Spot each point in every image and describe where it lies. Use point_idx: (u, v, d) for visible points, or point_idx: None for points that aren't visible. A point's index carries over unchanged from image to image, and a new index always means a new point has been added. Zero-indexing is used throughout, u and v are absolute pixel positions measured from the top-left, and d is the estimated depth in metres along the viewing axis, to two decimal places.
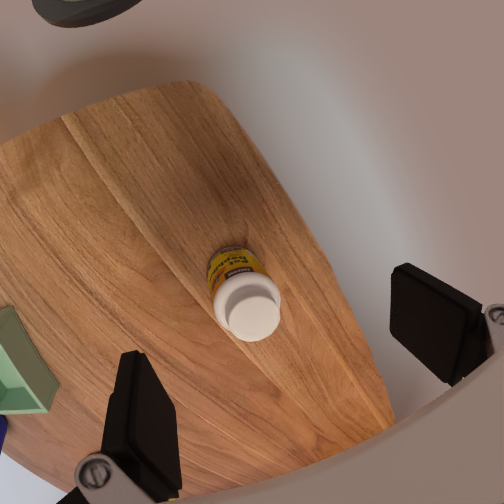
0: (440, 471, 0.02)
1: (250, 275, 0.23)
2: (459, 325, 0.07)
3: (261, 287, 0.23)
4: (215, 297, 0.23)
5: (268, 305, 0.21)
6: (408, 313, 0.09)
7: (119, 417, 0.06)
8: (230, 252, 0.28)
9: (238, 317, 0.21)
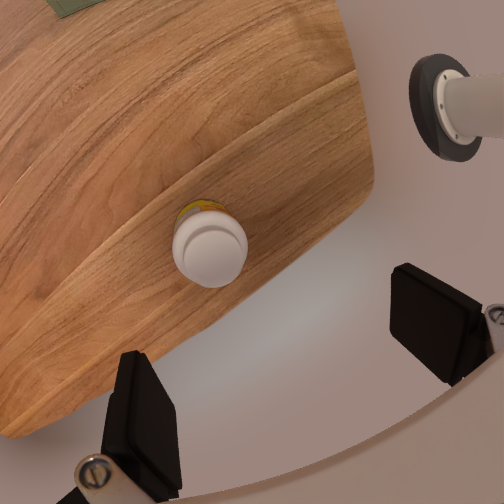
0: (440, 471, 0.02)
1: (247, 248, 0.22)
2: (459, 325, 0.07)
3: None
4: (221, 213, 0.21)
5: (232, 273, 0.19)
6: (408, 313, 0.09)
7: (119, 417, 0.06)
8: None
9: (219, 241, 0.19)
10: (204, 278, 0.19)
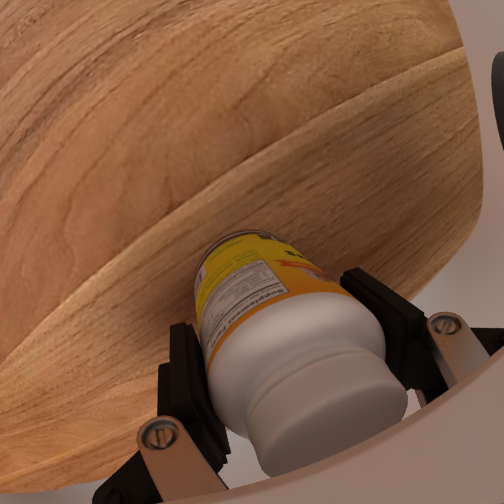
0: (440, 471, 0.02)
1: None
2: (399, 332, 0.07)
3: None
4: (345, 299, 0.07)
5: None
6: None
7: (180, 379, 0.07)
8: None
9: (369, 405, 0.05)
10: None
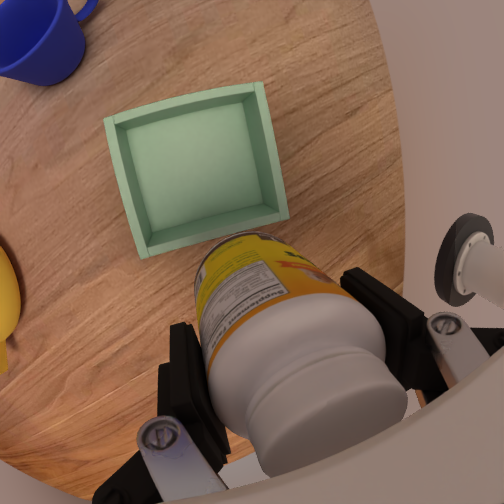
0: (440, 471, 0.02)
1: None
2: (399, 332, 0.07)
3: None
4: (345, 300, 0.07)
5: None
6: None
7: (180, 378, 0.07)
8: None
9: (369, 406, 0.05)
10: None
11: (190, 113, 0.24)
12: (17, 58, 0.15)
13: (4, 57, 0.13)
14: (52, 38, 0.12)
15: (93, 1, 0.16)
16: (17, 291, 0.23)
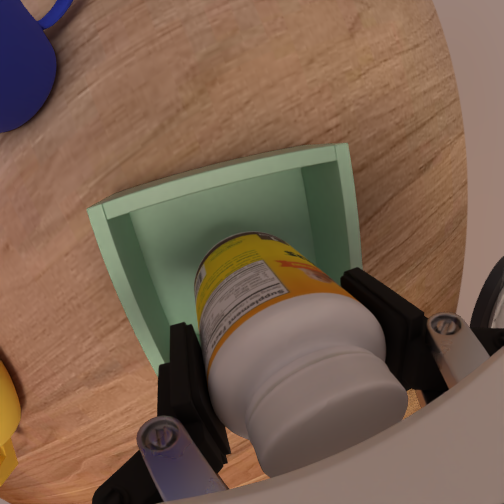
0: (440, 471, 0.02)
1: None
2: (399, 332, 0.07)
3: None
4: (345, 299, 0.07)
5: None
6: None
7: (180, 378, 0.07)
8: None
9: (369, 406, 0.05)
10: None
11: None
12: None
13: None
14: None
15: None
16: (13, 395, 0.16)
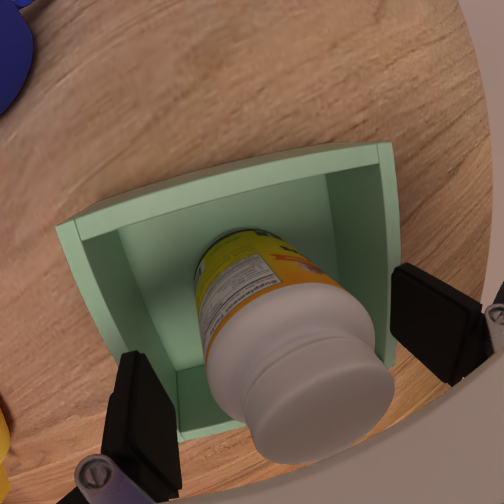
0: (440, 471, 0.02)
1: None
2: (459, 325, 0.07)
3: None
4: (335, 289, 0.08)
5: (360, 433, 0.07)
6: (408, 313, 0.09)
7: (119, 417, 0.06)
8: None
9: (356, 387, 0.06)
10: (299, 455, 0.06)
11: None
12: None
13: None
14: None
15: None
16: (0, 422, 0.13)
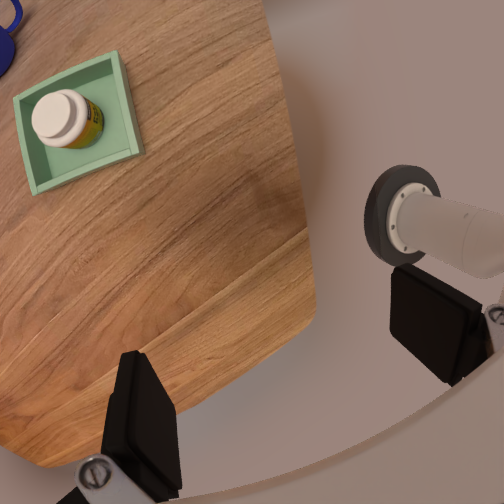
0: (440, 471, 0.02)
1: (85, 113, 0.20)
2: (459, 325, 0.07)
3: (74, 123, 0.20)
4: None
5: (61, 122, 0.18)
6: (408, 313, 0.09)
7: (119, 417, 0.06)
8: (100, 115, 0.25)
9: (54, 99, 0.17)
10: (42, 129, 0.18)
11: (80, 86, 0.25)
12: None
13: None
14: None
15: (18, 16, 0.17)
16: None
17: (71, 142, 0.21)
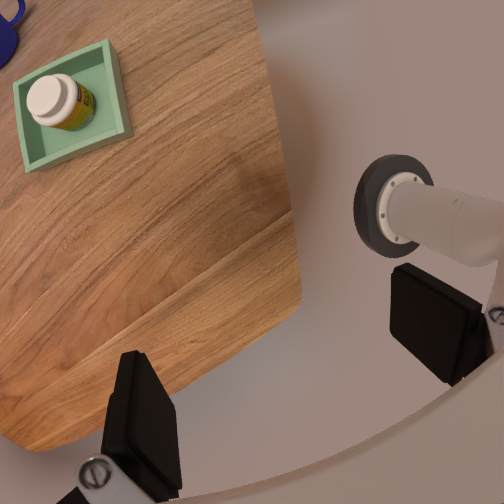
0: (440, 471, 0.02)
1: (74, 94, 0.21)
2: (459, 325, 0.07)
3: (64, 103, 0.21)
4: (62, 74, 0.20)
5: (52, 102, 0.19)
6: (408, 313, 0.09)
7: (119, 417, 0.06)
8: (91, 99, 0.26)
9: (47, 81, 0.18)
10: (35, 108, 0.18)
11: (75, 74, 0.26)
12: None
13: None
14: None
15: (21, 9, 0.18)
16: None
17: (61, 121, 0.22)
